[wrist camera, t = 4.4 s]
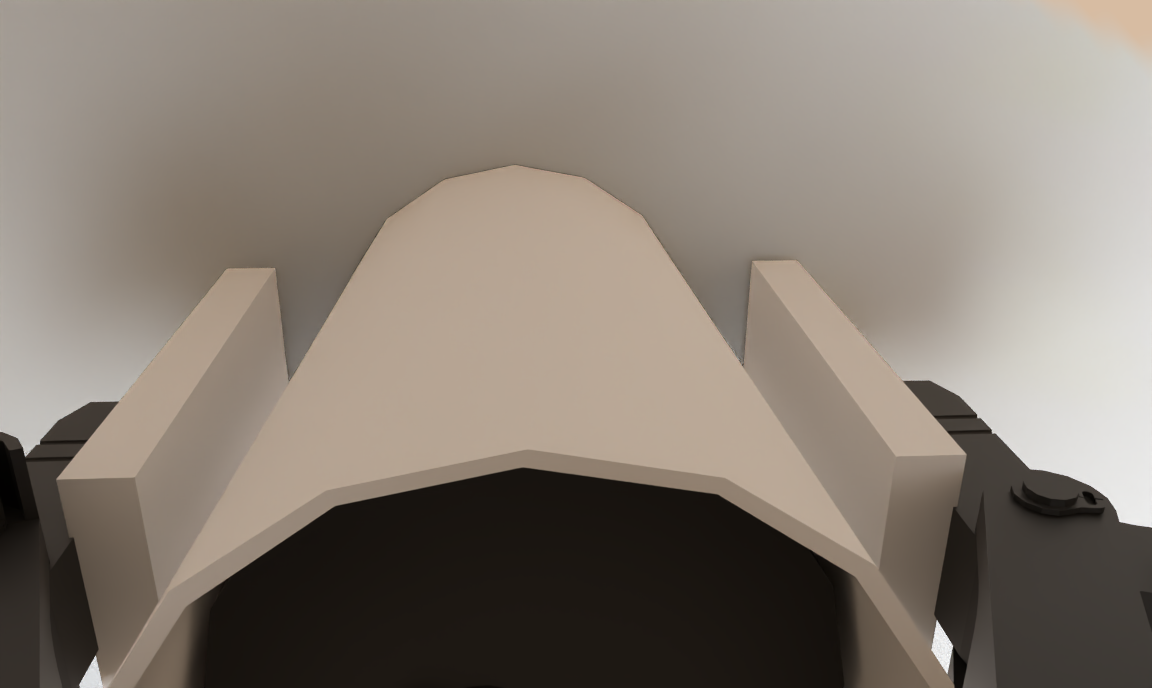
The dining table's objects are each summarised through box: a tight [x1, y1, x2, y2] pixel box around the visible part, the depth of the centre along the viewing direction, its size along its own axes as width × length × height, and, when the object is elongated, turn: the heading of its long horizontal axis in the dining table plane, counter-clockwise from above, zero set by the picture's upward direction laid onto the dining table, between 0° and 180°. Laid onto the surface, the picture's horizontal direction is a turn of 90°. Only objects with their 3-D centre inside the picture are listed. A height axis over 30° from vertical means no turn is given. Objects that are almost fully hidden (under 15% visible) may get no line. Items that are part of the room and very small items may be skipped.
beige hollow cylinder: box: [108, 165, 954, 688], centre depth 12 cm, size 7×7×10 cm
